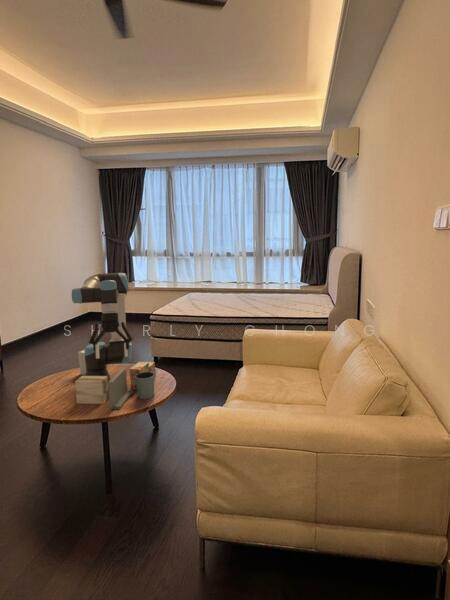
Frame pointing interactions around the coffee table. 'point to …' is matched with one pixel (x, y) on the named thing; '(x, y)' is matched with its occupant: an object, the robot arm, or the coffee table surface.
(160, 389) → the coffee table surface
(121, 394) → the stop board
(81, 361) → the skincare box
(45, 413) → the coffee table surface
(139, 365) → the stack of blocks
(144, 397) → the green cup
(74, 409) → the coffee table surface
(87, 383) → the ash block
